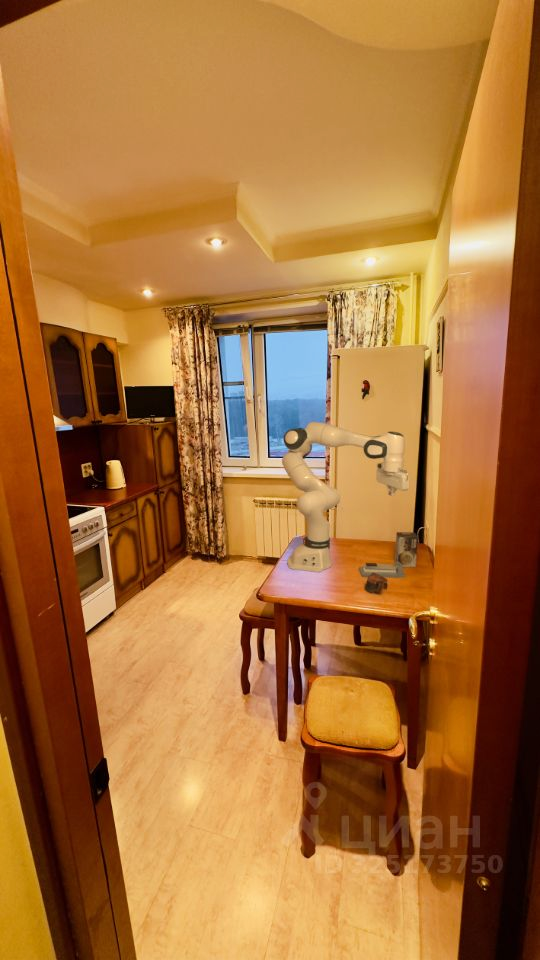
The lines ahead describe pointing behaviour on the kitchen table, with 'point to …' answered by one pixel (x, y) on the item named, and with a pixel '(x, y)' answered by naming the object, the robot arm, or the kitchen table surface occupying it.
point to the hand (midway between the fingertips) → (391, 495)
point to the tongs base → (383, 572)
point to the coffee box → (406, 549)
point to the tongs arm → (380, 566)
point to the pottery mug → (379, 583)
